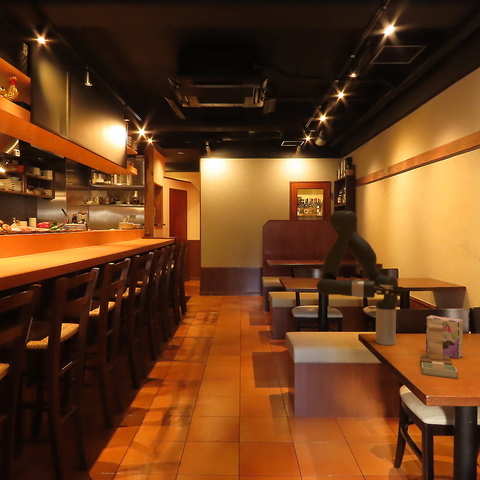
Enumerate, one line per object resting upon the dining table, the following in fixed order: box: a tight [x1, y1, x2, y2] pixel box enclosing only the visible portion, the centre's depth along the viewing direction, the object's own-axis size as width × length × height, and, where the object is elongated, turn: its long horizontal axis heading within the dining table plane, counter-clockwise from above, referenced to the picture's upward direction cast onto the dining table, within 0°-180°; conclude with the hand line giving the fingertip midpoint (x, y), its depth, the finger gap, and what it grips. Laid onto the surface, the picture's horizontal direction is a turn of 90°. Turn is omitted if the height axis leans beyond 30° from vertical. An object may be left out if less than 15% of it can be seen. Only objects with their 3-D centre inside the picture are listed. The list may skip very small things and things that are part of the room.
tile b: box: [432, 361, 444, 370], centre depth 152 cm, size 4×4×2 cm
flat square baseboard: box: [420, 352, 453, 369], centre depth 163 cm, size 11×11×3 cm
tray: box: [421, 362, 459, 379], centre depth 154 cm, size 8×12×2 cm, turn 68°
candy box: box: [425, 315, 464, 360], centre depth 179 cm, size 14×6×16 cm, turn 44°
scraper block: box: [427, 324, 443, 360], centre depth 165 cm, size 5×5×13 cm
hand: (403, 290), depth 169 cm, fingers open, 8 cm apart
